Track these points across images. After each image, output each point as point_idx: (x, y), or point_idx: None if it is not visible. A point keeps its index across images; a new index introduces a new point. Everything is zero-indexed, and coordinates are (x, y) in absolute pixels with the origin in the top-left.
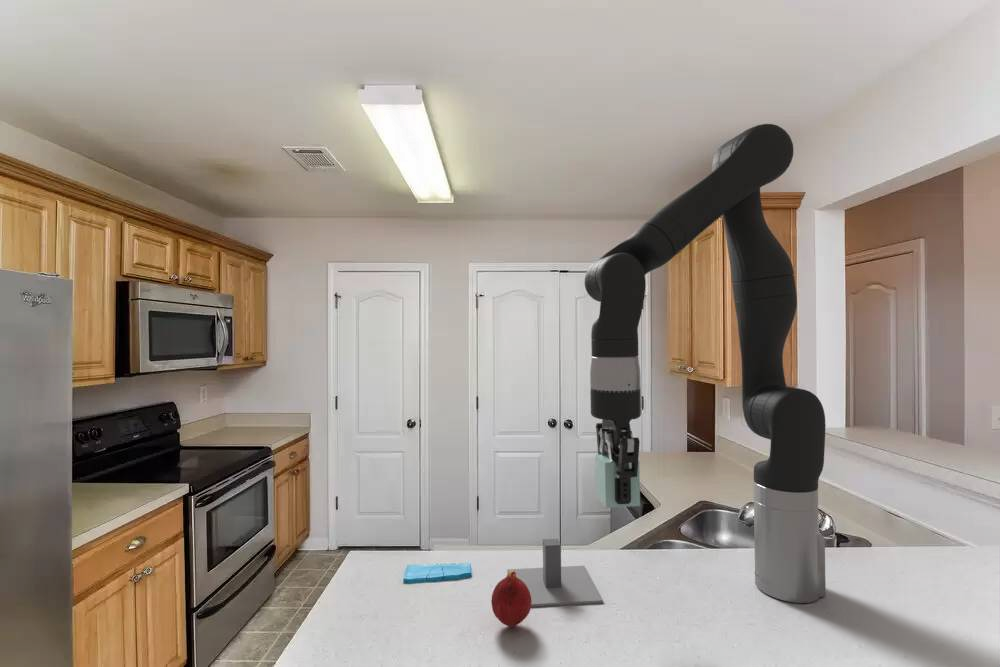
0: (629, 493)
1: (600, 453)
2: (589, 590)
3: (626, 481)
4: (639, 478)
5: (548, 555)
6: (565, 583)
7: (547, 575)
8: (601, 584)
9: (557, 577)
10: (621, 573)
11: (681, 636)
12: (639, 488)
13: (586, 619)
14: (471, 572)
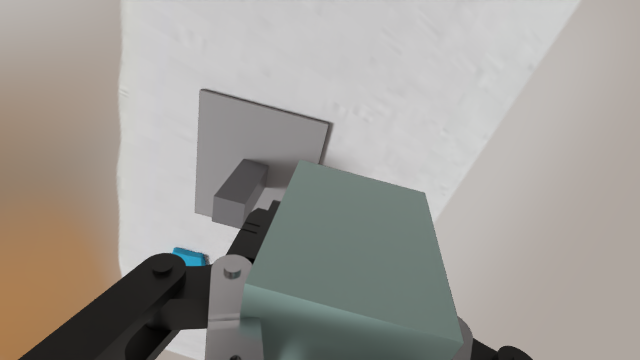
0: (447, 279)
1: (169, 342)
2: (291, 129)
3: None
4: (443, 265)
5: (248, 213)
6: (258, 154)
7: (259, 195)
8: (269, 91)
9: (263, 179)
10: (237, 26)
11: (473, 56)
12: (434, 234)
13: (361, 170)
14: (199, 257)
